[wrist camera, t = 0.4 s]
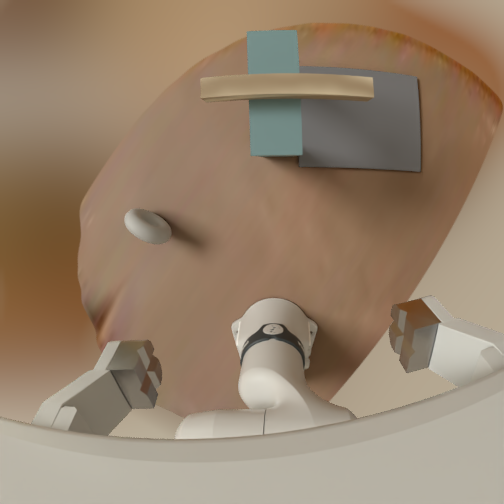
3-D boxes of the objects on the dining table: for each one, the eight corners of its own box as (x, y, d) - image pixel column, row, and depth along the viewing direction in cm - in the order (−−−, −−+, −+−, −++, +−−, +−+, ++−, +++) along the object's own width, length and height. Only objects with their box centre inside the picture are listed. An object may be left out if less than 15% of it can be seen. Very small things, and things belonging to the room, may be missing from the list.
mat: (419, 171, 57) (420, 171, 56) (298, 166, 59) (299, 166, 58) (415, 77, 51) (416, 76, 50) (295, 67, 53) (295, 66, 52)
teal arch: (293, 156, 58) (302, 155, 35) (261, 156, 59) (250, 155, 36) (290, 76, 54) (296, 30, 31) (259, 77, 54) (246, 31, 31)
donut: (180, 226, 64) (164, 238, 55) (173, 240, 65) (156, 254, 56) (141, 201, 63) (119, 209, 54) (134, 215, 64) (112, 225, 55)
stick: (367, 101, 33) (374, 97, 30) (206, 102, 35) (200, 98, 32) (365, 83, 32) (372, 77, 29) (206, 83, 34) (200, 78, 31)
